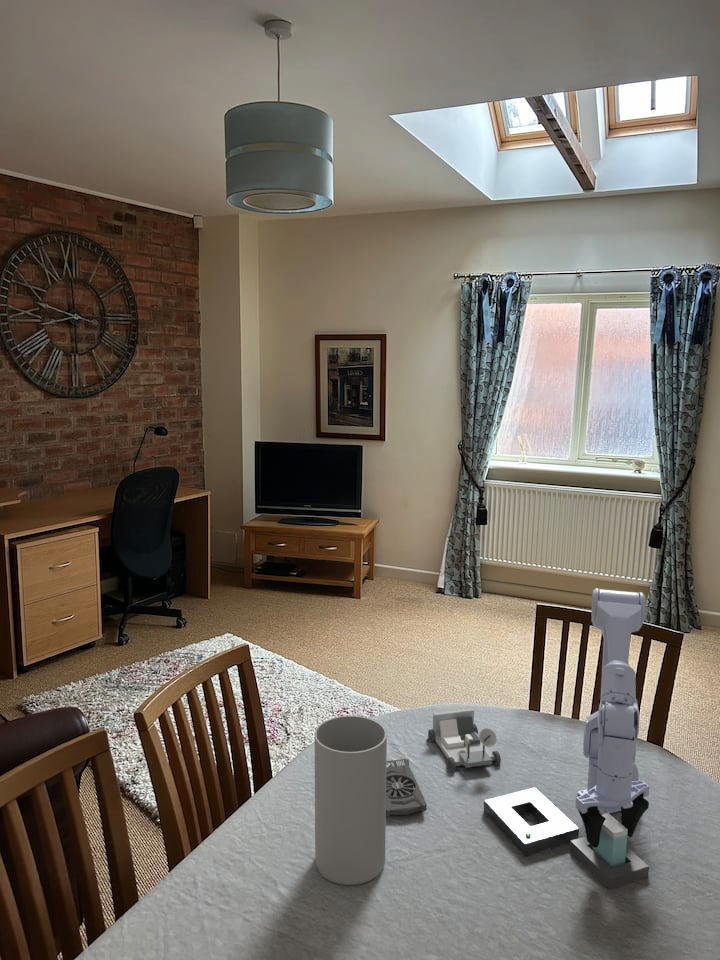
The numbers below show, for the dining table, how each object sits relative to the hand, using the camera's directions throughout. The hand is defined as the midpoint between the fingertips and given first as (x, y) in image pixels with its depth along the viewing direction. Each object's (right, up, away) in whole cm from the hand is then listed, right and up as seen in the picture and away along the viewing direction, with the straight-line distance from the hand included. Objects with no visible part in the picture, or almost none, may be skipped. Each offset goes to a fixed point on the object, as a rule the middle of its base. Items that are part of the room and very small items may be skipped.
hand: (609, 838), depth 129 cm
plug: (0, -5, +1) cm, 5 cm away
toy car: (-20, +1, +36) cm, 42 cm away
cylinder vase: (-46, -5, +1) cm, 46 cm away
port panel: (-12, -3, +11) cm, 16 cm away
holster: (0, -5, +1) cm, 5 cm away
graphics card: (-38, -2, +21) cm, 43 cm away
